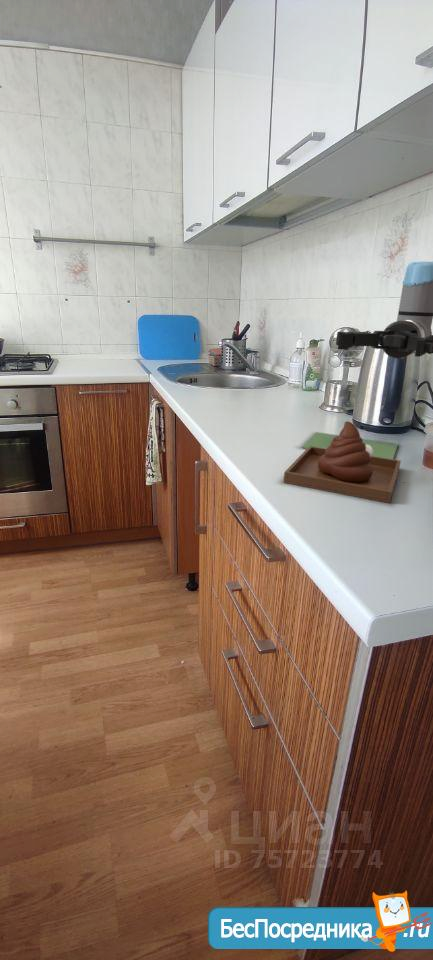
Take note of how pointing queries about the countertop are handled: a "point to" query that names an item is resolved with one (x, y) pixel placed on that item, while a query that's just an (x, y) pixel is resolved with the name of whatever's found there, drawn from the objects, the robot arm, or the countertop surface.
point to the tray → (373, 488)
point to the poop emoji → (347, 456)
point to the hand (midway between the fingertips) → (378, 345)
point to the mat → (378, 447)
